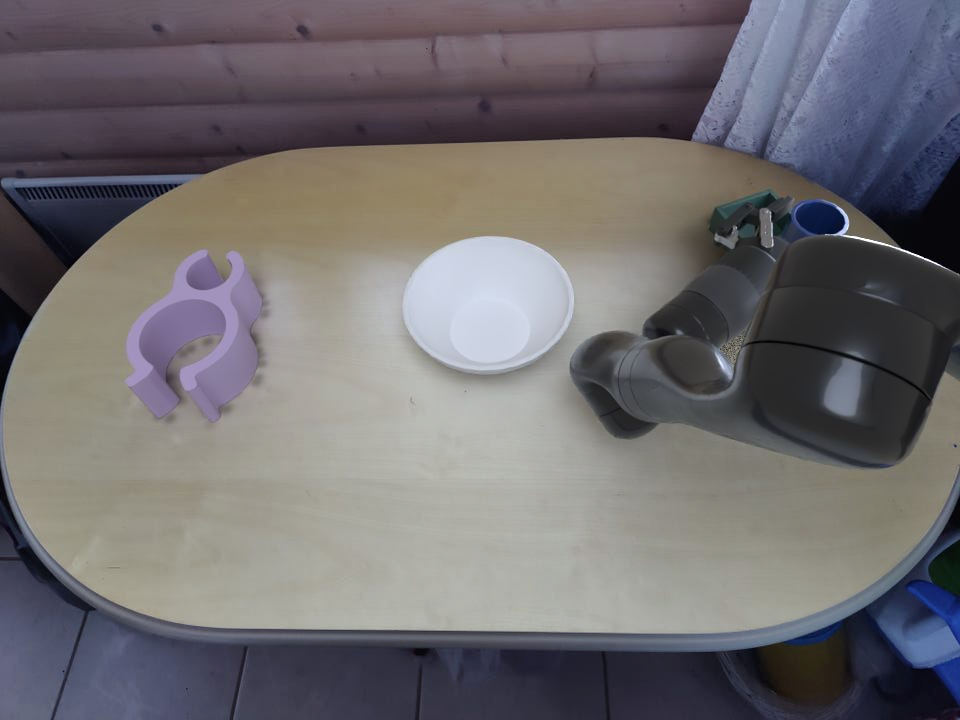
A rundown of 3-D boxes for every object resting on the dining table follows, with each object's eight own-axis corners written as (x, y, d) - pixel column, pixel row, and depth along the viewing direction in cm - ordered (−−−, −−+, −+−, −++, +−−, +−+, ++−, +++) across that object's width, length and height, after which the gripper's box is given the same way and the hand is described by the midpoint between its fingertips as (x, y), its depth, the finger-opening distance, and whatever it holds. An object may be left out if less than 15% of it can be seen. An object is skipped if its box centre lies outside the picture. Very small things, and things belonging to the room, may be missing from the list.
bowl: (529, 428, 75) (529, 396, 69) (379, 365, 81) (369, 331, 75) (595, 303, 84) (600, 265, 79) (457, 255, 90) (453, 217, 85)
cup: (827, 280, 84) (860, 220, 75) (794, 304, 82) (825, 246, 73) (786, 251, 86) (814, 191, 78) (754, 274, 85) (779, 215, 76)
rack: (780, 316, 82) (791, 296, 79) (708, 228, 91) (714, 206, 87) (839, 295, 83) (852, 274, 80) (762, 210, 92) (770, 188, 89)
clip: (193, 284, 90) (170, 247, 84) (284, 289, 88) (267, 252, 83) (133, 416, 79) (103, 384, 73) (236, 424, 77) (214, 392, 72)
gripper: (798, 314, 65) (894, 231, 70) (682, 235, 72) (778, 165, 77) (774, 358, 71) (864, 279, 77) (670, 282, 78) (759, 214, 83)
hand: (821, 222), depth 77 cm, fingers open, 8 cm apart
